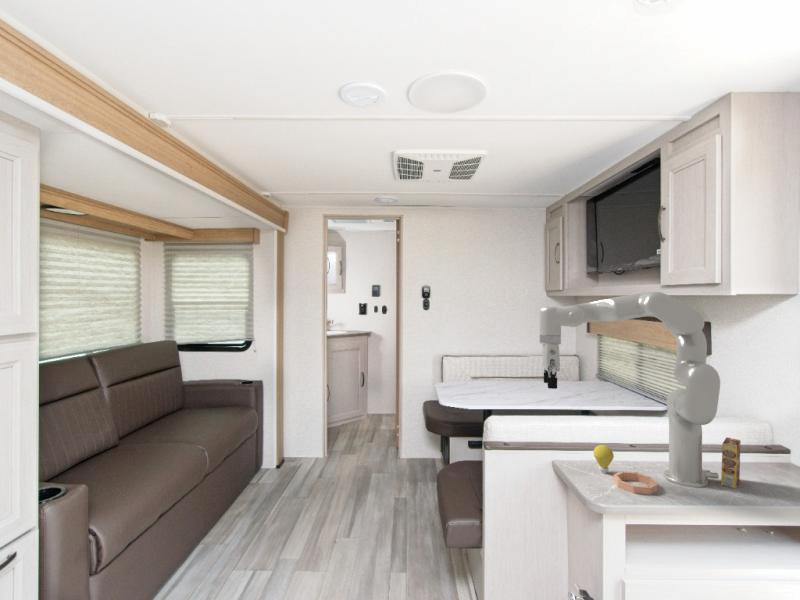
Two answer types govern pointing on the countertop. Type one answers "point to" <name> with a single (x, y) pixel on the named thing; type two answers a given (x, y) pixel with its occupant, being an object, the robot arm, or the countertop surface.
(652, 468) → the countertop surface
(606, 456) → the light bulb
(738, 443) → the candy box
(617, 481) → the terracotta ring
